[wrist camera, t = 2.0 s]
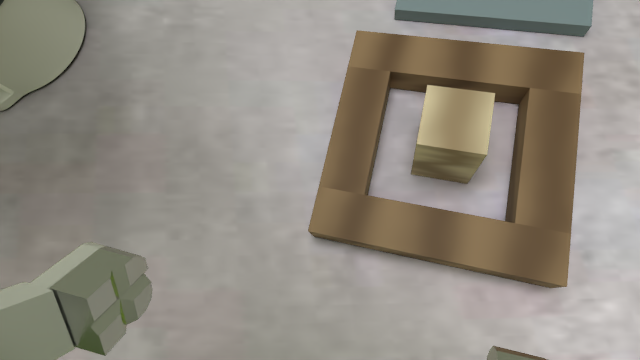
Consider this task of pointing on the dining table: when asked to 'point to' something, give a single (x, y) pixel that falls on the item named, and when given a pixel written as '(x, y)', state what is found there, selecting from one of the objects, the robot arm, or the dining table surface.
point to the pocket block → (526, 172)
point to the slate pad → (503, 14)
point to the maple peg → (453, 133)
